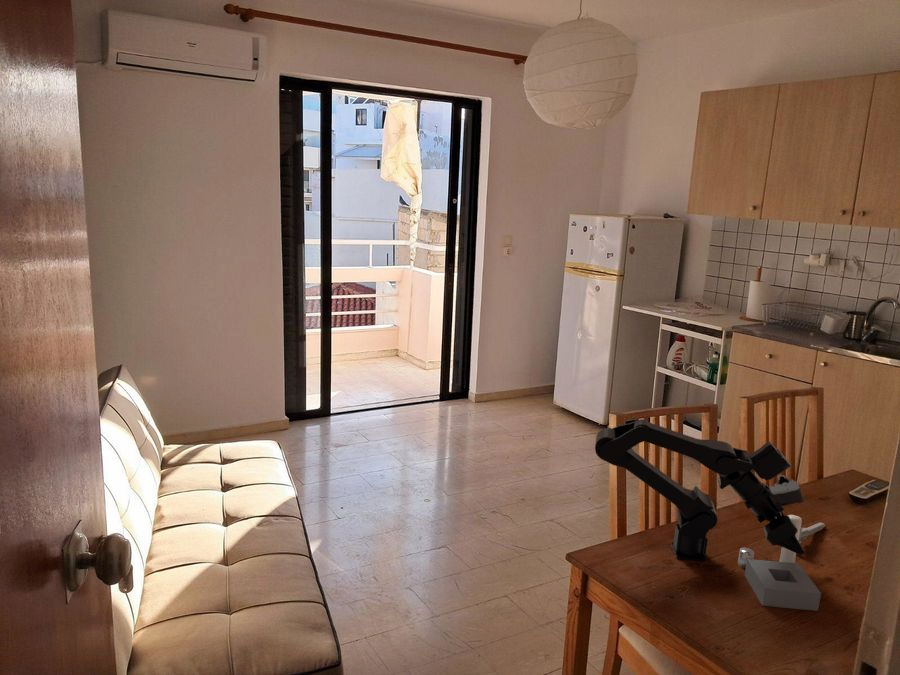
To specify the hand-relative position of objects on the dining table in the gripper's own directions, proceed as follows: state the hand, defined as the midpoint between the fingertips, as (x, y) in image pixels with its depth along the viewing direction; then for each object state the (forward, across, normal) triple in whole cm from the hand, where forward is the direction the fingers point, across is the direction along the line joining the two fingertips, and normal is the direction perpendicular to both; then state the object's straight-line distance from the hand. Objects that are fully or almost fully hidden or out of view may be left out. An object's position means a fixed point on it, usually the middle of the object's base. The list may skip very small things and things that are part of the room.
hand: (797, 542), depth 149 cm
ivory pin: (+4, 0, +6) cm, 7 cm away
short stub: (-3, -1, +12) cm, 12 cm away
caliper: (+10, +16, 0) cm, 19 cm away
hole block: (+1, -11, +8) cm, 13 cm away
